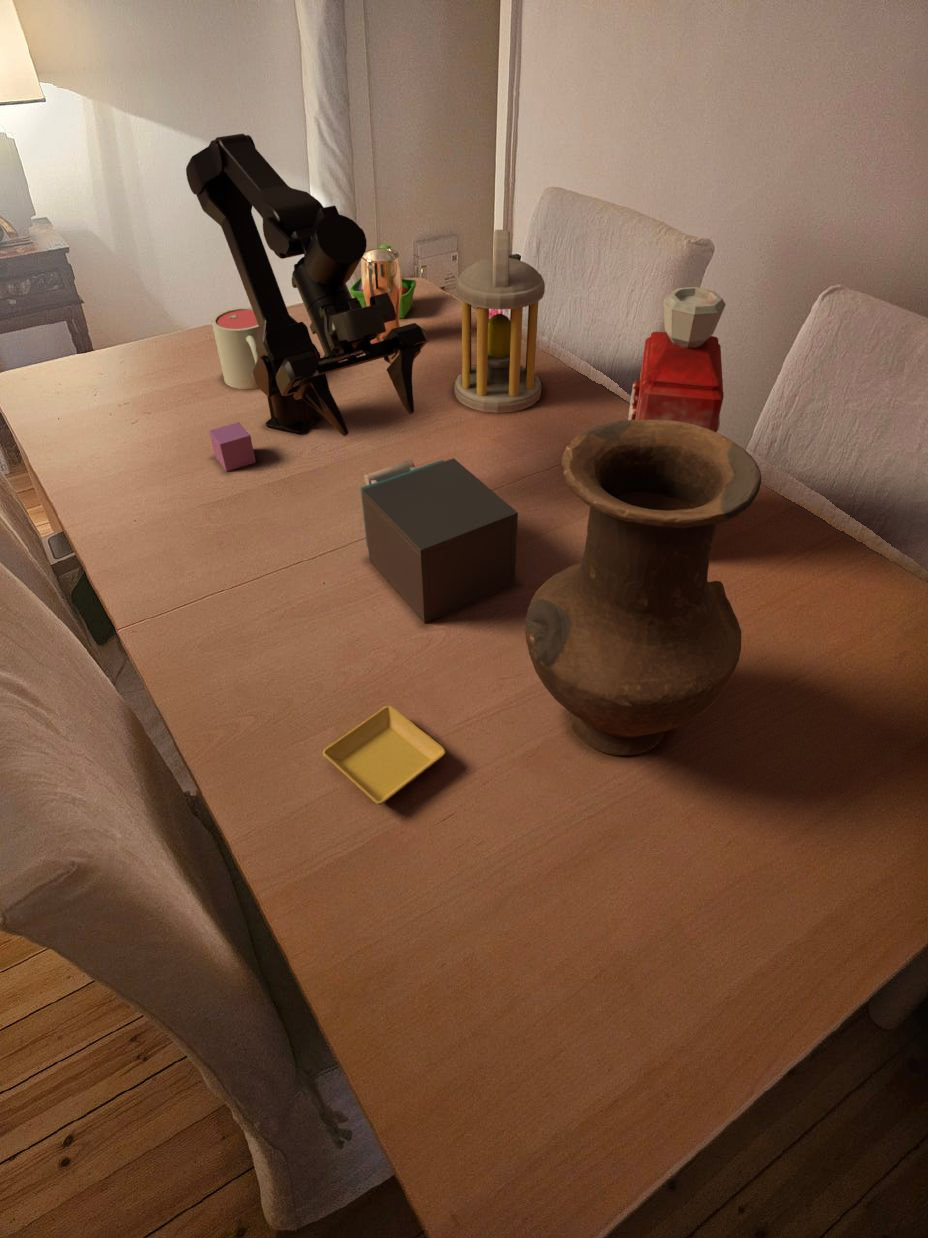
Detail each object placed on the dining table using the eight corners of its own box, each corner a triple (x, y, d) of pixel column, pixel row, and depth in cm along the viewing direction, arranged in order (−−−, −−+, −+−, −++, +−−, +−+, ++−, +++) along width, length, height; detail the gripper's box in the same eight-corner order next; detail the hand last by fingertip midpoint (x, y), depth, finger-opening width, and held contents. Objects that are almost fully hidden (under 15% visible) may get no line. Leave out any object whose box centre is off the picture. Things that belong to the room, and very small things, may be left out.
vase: (717, 670, 88) (790, 419, 68) (706, 819, 74) (794, 561, 54) (541, 637, 92) (561, 391, 72) (500, 773, 78) (510, 516, 58)
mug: (218, 370, 141) (206, 313, 134) (271, 360, 144) (261, 303, 137) (237, 405, 132) (225, 346, 125) (293, 393, 135) (284, 334, 128)
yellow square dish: (322, 764, 79) (319, 751, 78) (390, 716, 84) (388, 702, 82) (380, 819, 75) (378, 805, 73) (448, 765, 79) (448, 751, 78)
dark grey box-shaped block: (369, 561, 102) (361, 489, 95) (455, 528, 107) (453, 457, 100) (424, 623, 94) (420, 550, 87) (514, 585, 99) (518, 512, 92)
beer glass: (359, 343, 149) (351, 257, 138) (380, 329, 153) (373, 245, 143) (392, 351, 146) (386, 264, 136) (412, 336, 151) (408, 251, 141)
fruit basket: (350, 316, 157) (344, 255, 150) (365, 299, 164) (360, 239, 156) (407, 322, 155) (404, 260, 148) (420, 304, 162) (418, 244, 154)
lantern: (456, 371, 140) (454, 214, 123) (539, 372, 140) (549, 215, 123) (452, 412, 130) (449, 247, 113) (542, 413, 129) (553, 248, 112)
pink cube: (226, 471, 118) (219, 444, 114) (215, 457, 120) (208, 430, 117) (256, 462, 119) (250, 435, 116) (244, 448, 122) (238, 421, 119)
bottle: (692, 564, 101) (748, 327, 81) (609, 554, 103) (643, 319, 83) (692, 499, 112) (742, 274, 91) (616, 490, 113) (649, 268, 93)
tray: (352, 530, 106) (344, 471, 100) (428, 502, 110) (425, 445, 104) (416, 602, 95) (412, 541, 89) (497, 568, 100) (499, 508, 94)
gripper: (270, 290, 89) (327, 425, 90) (417, 255, 96) (468, 380, 98) (253, 332, 99) (305, 453, 100) (388, 298, 107) (434, 411, 108)
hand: (379, 424), depth 101 cm, fingers open, 9 cm apart
